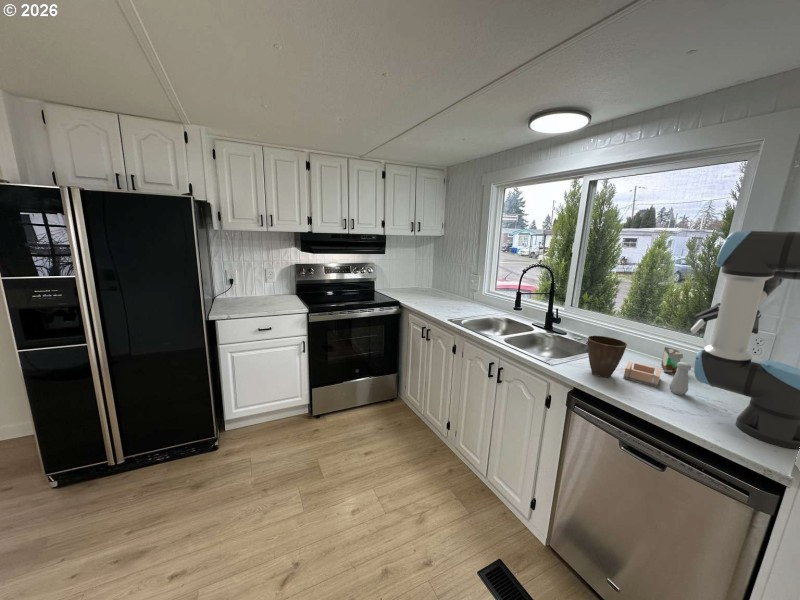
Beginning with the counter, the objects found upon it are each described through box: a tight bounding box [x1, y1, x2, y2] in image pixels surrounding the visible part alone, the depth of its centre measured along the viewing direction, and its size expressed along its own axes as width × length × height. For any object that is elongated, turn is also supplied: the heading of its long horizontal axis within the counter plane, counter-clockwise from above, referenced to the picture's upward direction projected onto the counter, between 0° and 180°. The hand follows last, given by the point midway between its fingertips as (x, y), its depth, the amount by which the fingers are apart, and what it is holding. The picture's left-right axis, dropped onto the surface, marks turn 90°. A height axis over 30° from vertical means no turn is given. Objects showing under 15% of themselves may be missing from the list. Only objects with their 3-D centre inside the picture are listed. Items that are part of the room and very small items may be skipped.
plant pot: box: [587, 335, 628, 378], centre depth 144 cm, size 15×15×16 cm
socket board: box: [623, 361, 662, 388], centre depth 143 cm, size 12×12×5 cm
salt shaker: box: [669, 361, 692, 396], centre depth 129 cm, size 6×6×13 cm
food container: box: [660, 346, 684, 374], centre depth 152 cm, size 12×6×10 cm, turn 148°
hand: (710, 337), depth 128 cm, fingers open, 13 cm apart
